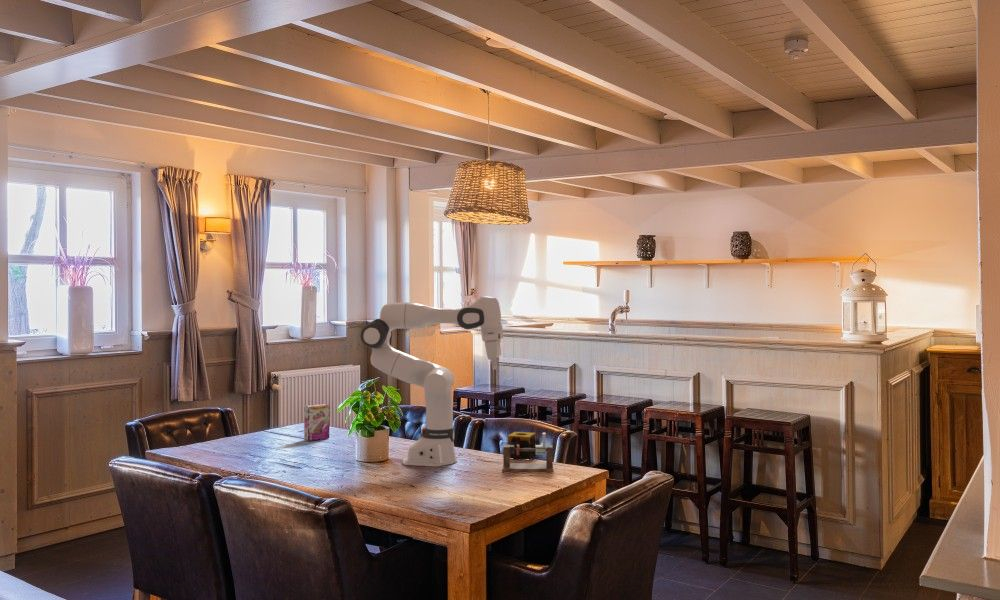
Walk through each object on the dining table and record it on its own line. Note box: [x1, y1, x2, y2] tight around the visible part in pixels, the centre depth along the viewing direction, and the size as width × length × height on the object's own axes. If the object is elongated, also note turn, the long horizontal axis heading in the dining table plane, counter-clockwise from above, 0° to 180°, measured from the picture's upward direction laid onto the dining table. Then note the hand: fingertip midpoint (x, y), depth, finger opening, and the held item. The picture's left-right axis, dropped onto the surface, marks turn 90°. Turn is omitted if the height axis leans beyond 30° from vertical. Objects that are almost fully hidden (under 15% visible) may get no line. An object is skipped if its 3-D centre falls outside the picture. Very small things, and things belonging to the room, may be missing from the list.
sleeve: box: [536, 432, 547, 456], centre depth 317 cm, size 4×3×8 cm
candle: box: [507, 431, 537, 461], centre depth 340 cm, size 10×10×10 cm
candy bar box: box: [303, 403, 330, 442], centre depth 381 cm, size 11×5×16 cm, turn 130°
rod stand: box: [502, 444, 555, 474], centre depth 317 cm, size 20×10×10 cm, turn 87°
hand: (496, 368), depth 330 cm, fingers open, 8 cm apart
